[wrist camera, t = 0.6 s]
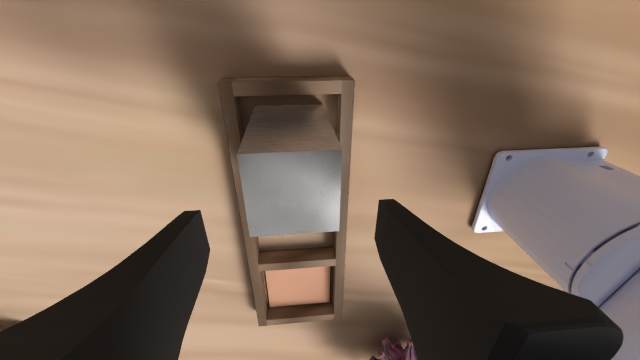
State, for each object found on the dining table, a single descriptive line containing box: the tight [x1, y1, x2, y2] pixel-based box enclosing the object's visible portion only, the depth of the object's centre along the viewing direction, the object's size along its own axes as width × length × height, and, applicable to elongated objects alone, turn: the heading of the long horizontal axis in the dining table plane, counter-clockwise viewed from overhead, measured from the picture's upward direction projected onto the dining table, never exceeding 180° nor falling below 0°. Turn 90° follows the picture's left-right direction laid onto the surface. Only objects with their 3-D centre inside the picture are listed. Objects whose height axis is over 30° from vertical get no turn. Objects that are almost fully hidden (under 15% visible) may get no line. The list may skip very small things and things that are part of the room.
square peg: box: [237, 104, 342, 237], centre depth 17 cm, size 5×5×8 cm
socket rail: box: [218, 76, 355, 326], centre depth 24 cm, size 8×23×2 cm, turn 0°
